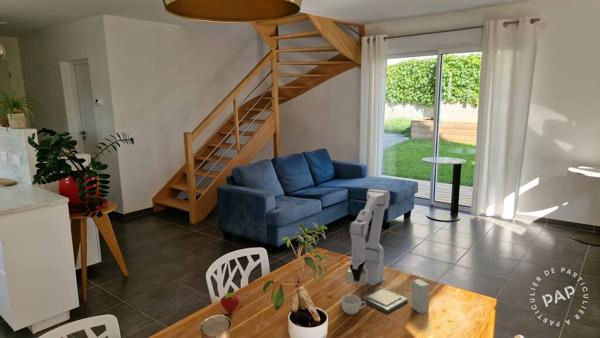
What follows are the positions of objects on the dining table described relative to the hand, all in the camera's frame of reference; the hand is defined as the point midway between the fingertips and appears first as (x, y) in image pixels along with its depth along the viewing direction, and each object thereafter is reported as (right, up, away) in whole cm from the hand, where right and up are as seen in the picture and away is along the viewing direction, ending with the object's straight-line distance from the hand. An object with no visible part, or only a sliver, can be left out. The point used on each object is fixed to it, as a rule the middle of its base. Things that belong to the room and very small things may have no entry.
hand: (357, 278), depth 170 cm
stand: (+11, -9, -3) cm, 14 cm away
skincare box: (+24, -10, -10) cm, 28 cm away
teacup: (-3, -11, -11) cm, 16 cm away
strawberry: (-54, -11, -12) cm, 56 cm away
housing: (0, -1, 0) cm, 2 cm away
